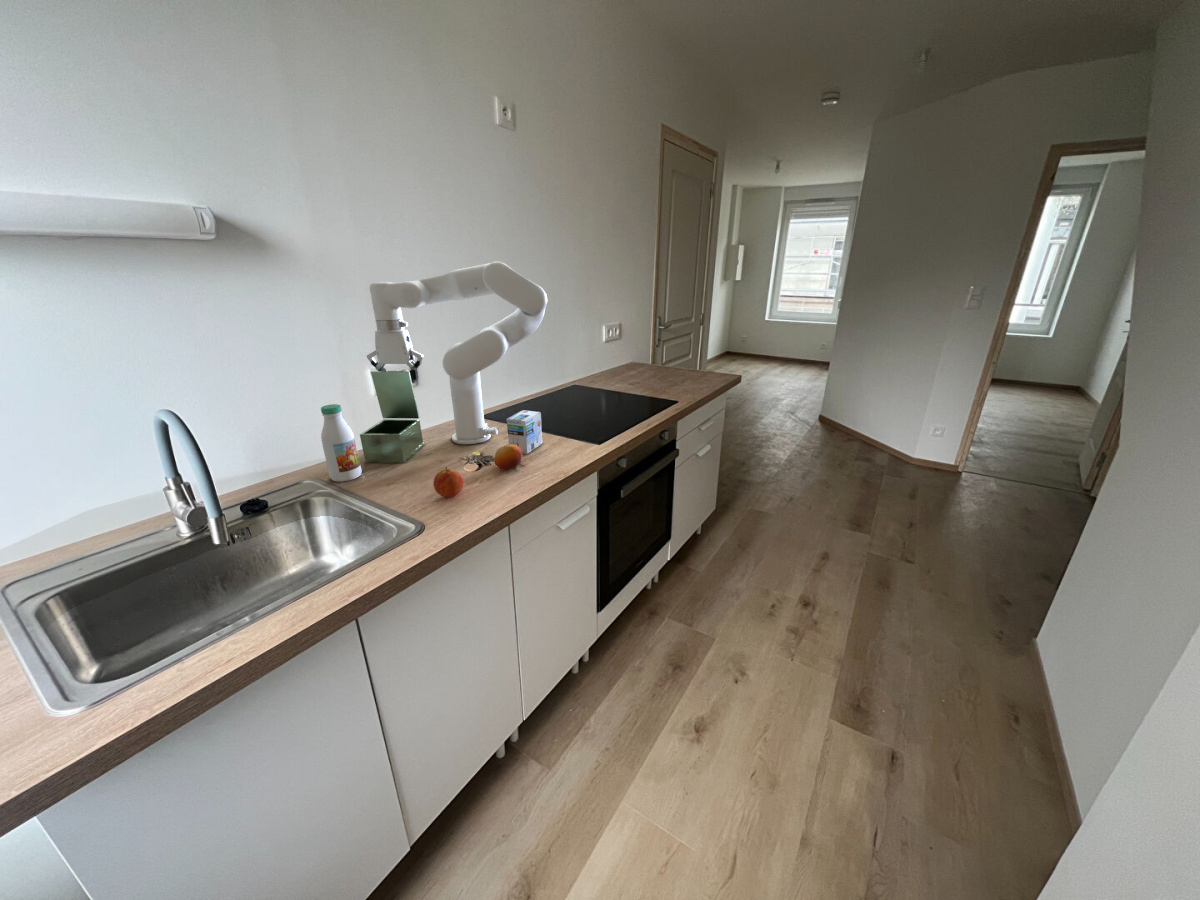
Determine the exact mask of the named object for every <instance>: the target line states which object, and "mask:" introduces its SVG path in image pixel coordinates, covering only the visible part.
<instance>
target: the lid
mask: <svg viewBox="0 0 1200 900" xmlns="http://www.w3.org/2000/svg"><path fill="white" fill-rule="evenodd" d="M370 375H371V379H372V383H373V387H374V390H375V394H376V398H377V402H378V405H379V409H380V414H381V416H382V419H419V420H420V419H421V418H420V417H421V416H420V412H419V408H418V404H417V400H416V395H415V394H416V393H415V389H414V385H413V383H412V381H411V376H410V370H409V371H408V370H406V371H405V370H386V371H378V370H376V371H375V370H371V371H370Z"/></svg>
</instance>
